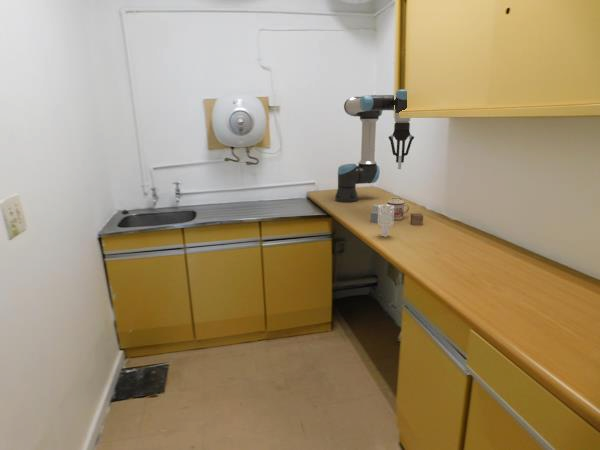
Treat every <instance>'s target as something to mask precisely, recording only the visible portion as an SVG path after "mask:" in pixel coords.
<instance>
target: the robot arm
mask: <svg viewBox="0 0 600 450" xmlns="http://www.w3.org/2000/svg"><path fill="white" fill-rule="evenodd" d="M406 90H407V89H397V90H396V91H395V94H380V95H379V94H377V95H375V94H374V95H373V94H371V95H370V94H366V95H362V96H354V97H350V98H347V99H346V100H345V102H344V104H343V110H344V112H345V113H346V114H347V115H349V116H351V117H359V120H360V122H361V145H360V146H361V150H360V161H359V162H358V165H357V164H356V163H346V164H342V165H340V166H338V169H337V191H336V193H335V196H334V200H335V201H336V202H339V203H354V202H357V201H359V195H358V191H357V189H356V187H357V185H359V184H360V185H361V184H375V183H377V181H378V179H379V178H380V174H381V173H380V166H379V165H378V164H377V161H376V160H375V153H376V129H377V121H379V119H380V118H379V117H381V116H382V115H383V111H394V122H395V123H393V124H394V125H393V128H394V129H393V132H392V134H391V135H389V136H388V139H389V141H390V145H391V150H392V151H391V152H392V155H393V156H395V157H396V158H395V159H396V160H395V163H396V164H397V169H398V170H401V169H402V164H404V162H405V156H408V155H409V151H410V148H411V146H412V145H411V144H412V142H413V140H414V139H415V136H414V135H412V134H411V132H410V131H411V129H410V128H411V127H410V126H411V125H410V124H411V123H410V122H411V117H410V118H401V117H400V116H399V112H400V111H402V110H405V109H406V108H407V91H406ZM394 95H396V99H395V100H394ZM394 105H395V110H394ZM394 139H395V140H396V148H395V143H394ZM407 139H409V140H408V144H407V147H405V145H406V140H407ZM400 146H401V155H400ZM405 148H406V150H405Z"/></svg>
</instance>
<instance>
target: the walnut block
mask: <svg viewBox="0 0 600 450" xmlns="http://www.w3.org/2000/svg"><path fill="white" fill-rule="evenodd" d="M409 223H410V224H411V225H412V226H423V225H424V215H423V214H422V213H421V212H410V222H409Z"/></svg>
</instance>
